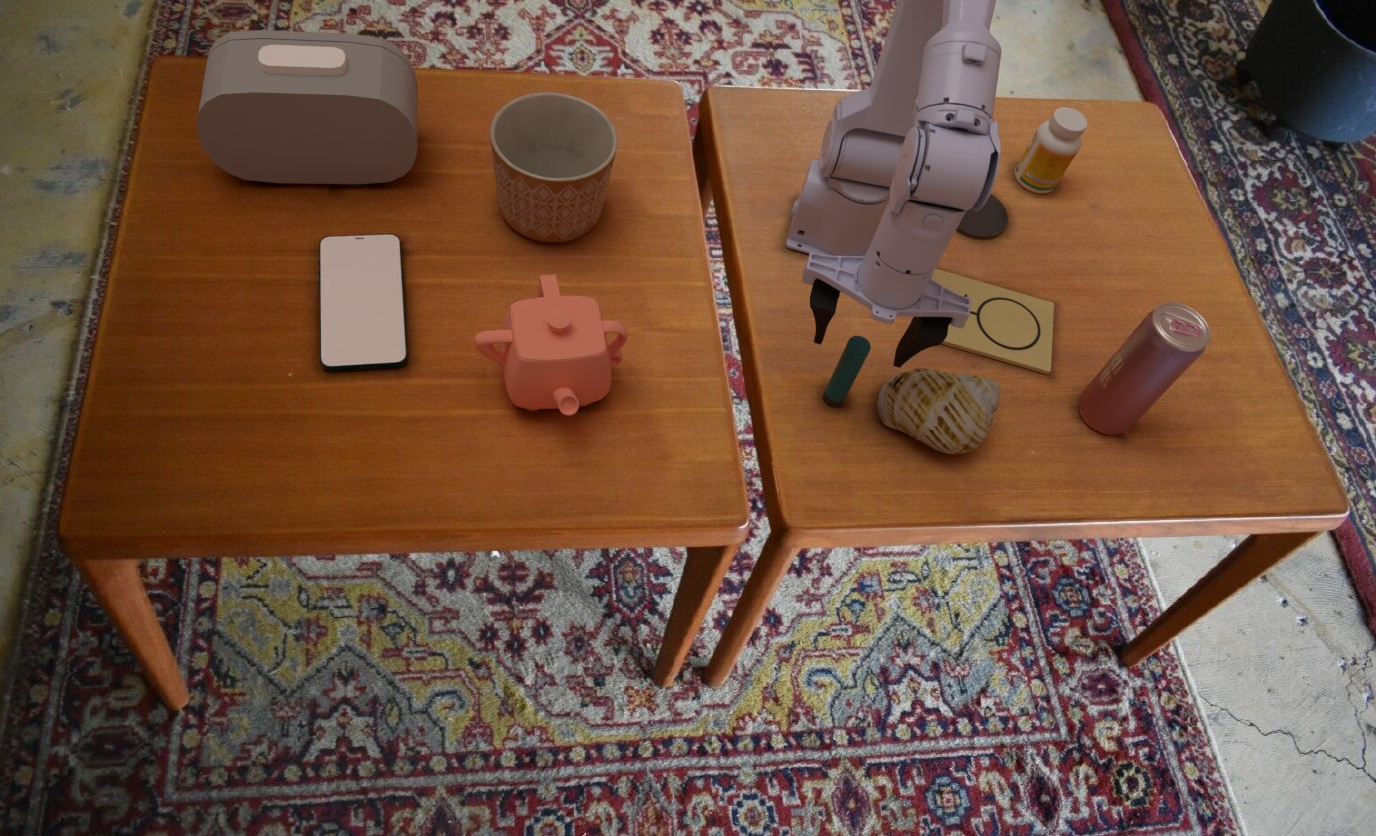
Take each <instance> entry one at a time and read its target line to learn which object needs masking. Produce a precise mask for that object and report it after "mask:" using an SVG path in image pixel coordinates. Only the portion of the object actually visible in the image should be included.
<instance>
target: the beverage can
mask: <svg viewBox="0 0 1376 836" xmlns="http://www.w3.org/2000/svg"><path fill="white" fill-rule="evenodd" d="M1211 338H1212V332H1211V328H1210V326H1209V324H1208V322H1207V320H1206V319H1205V318H1204V317H1203V316H1202V315H1201V314H1200V313H1199V312H1198V311H1197V310H1195V309H1193V308H1192V307H1190V306H1189V305H1186V304H1184V303H1182V302H1181V303H1180V302H1175V301H1168V302H1163V303H1160V304H1159V305H1157V306H1156V307H1155V308H1154V309H1152V310H1151V311H1150V312H1148V313H1147V315H1145V317H1144V318H1143V319H1142V321H1141V322H1140V323H1139V324H1138V325H1137V326H1136V327H1135V329H1134V330H1133V331H1132V332H1131V334H1129V336H1128V337H1127V338H1126V340H1124V342H1123V343H1122V344H1121V346H1119V348H1118V349H1117V350H1116V351H1115V352H1114V354H1113V355H1112V356H1111V357H1110V358H1109V359H1108V361H1107V362H1106V363H1105V364H1104V365H1103V366H1102V368H1101V369H1100V370H1099V371H1098V372H1097V374H1096V375H1095V376H1094V377H1093V379H1092V380H1091V381H1090V382H1089V383H1088V385H1086V387H1085V388H1084V389H1083V390H1082V391H1081V393H1080V394H1079V397H1078V410H1079V414H1080V416H1081V417H1082V419H1083V421H1084V422H1085V423H1086V424H1087V425H1088V426H1089V427H1090V428H1092V429H1093V430H1094V431H1097V432H1099V433H1101V434H1104V435H1121V434H1124V433H1126V432H1128V431H1130V429H1131V428H1133V426H1134V425H1135V424H1136V423H1137V422H1138V421H1139V420H1140V419H1141V418H1142V417H1143V415H1145V414H1146V413H1147V411H1149V409H1150V408H1152V407H1153V405H1155V403H1156V402H1158V400H1159V399H1160V398H1161V397H1162V396H1163V395H1164V394H1165V393H1166V392H1167V391H1168V390H1169V389H1170V388H1171V387H1172V386H1173V384H1175V382H1176V381H1178V379H1179V378H1181V377H1182V375H1183V374H1184V373H1185V372H1186V371H1187V370H1188V369H1189V368H1190V367H1191V366H1192V365H1193V364H1194V363H1195V362H1196V361H1197V360H1198V359H1199V358H1200V357H1201V356H1202V355H1203V353H1204V352H1205V350H1206V347H1207V346H1208V345H1209V344H1210V342H1211Z"/></svg>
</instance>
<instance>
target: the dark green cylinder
mask: <svg viewBox="0 0 1376 836" xmlns="http://www.w3.org/2000/svg"><path fill="white" fill-rule="evenodd" d="M871 349H872V346H871V343H870V341H869V340H868V339H867V338H866V337H865V336H861V335H853V336H851V337H849V339H848V341H847V342H846V345H845V347H844V349H843V351H842V353H841V355H840V357H839V358H838V359H839V360H838V362H837V364H836V366H835V368H834V370H833V372H832V374H831V377H830V379H829V381H828V383H827V385H826V387H825V389H824V391H823V394H822V400H823V402H824V403H825V405H827V406H829V407H831V408H840V407H842V406H843V404H844V403H845V401H846V399H847V397H848V395H849V393H850V391H851V390H852V387H853V385H854V383H855V381H856V379H857V377H858V375H859V373H860V371H861V369H862V367H863V365H864V363H865V361H866V359H867V358H868V355H869V353H870V352H871Z"/></svg>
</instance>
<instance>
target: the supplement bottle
mask: <svg viewBox="0 0 1376 836" xmlns="http://www.w3.org/2000/svg"><path fill="white" fill-rule="evenodd" d="M1087 127H1088V120H1087V118H1086V117H1085V115H1084V114H1083V113H1081V112H1080V111H1078V110H1077V109H1075V108H1072V107H1068V106H1062V107H1059V108H1057V109H1056V110H1055V111H1054V112H1053V114H1052V115H1051V116H1050V118H1049V119H1048V120H1045V121H1043V122H1042V123H1041V124H1040V125H1039V126H1038V128H1037V129H1036V131H1035V132H1034V134H1033V136H1032V137H1031V140H1030V141H1029V143H1028V144H1027V146H1026V148H1025V150H1024V152H1023V153H1022V155H1021V157H1020V159H1019V161H1018V162H1017V164H1016V166H1015V168H1014V177H1015V179H1016V181H1017V183H1018V184H1019V185H1020V186H1022V187H1023V188H1025V189H1026V190H1027V191H1029V192H1032V193H1035V194H1047V193H1050V192H1052V191H1053V190H1054V189H1056V187H1057V186H1058V184H1059V182H1060V181H1061V179H1062V178H1063V176H1064V174H1065V173H1066V171H1067V170H1068V168H1069V167H1070V165H1071V164H1072V162H1073V160H1074V158H1075V157H1076V156H1077V154H1078V153H1079V152H1080V149H1081V147H1082V142H1083V140H1082V138H1083V137H1082V135H1083V134H1084V132H1085V130H1086V129H1087Z"/></svg>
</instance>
